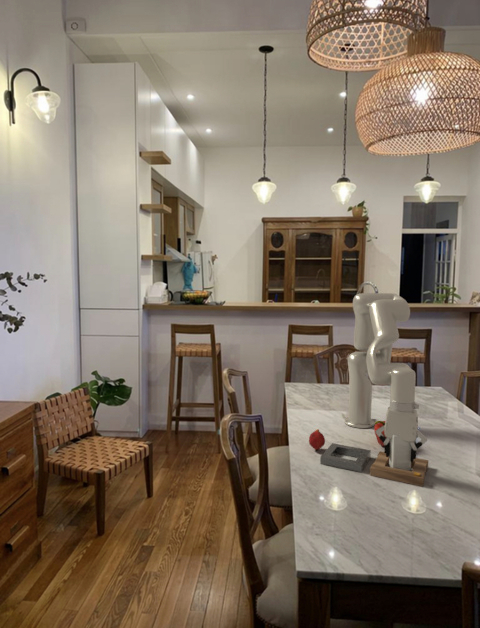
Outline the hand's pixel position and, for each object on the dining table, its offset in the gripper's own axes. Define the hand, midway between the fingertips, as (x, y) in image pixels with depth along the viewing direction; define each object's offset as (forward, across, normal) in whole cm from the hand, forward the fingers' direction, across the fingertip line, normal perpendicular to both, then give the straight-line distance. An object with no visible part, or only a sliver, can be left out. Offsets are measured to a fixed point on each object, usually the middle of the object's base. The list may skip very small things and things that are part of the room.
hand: (399, 457), depth 149 cm
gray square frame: (+5, +18, 0) cm, 18 cm away
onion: (+5, +30, -4) cm, 31 cm away
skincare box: (+4, 0, 0) cm, 4 cm away
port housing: (+5, 0, 0) cm, 5 cm away
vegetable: (+5, +8, -21) cm, 23 cm away
